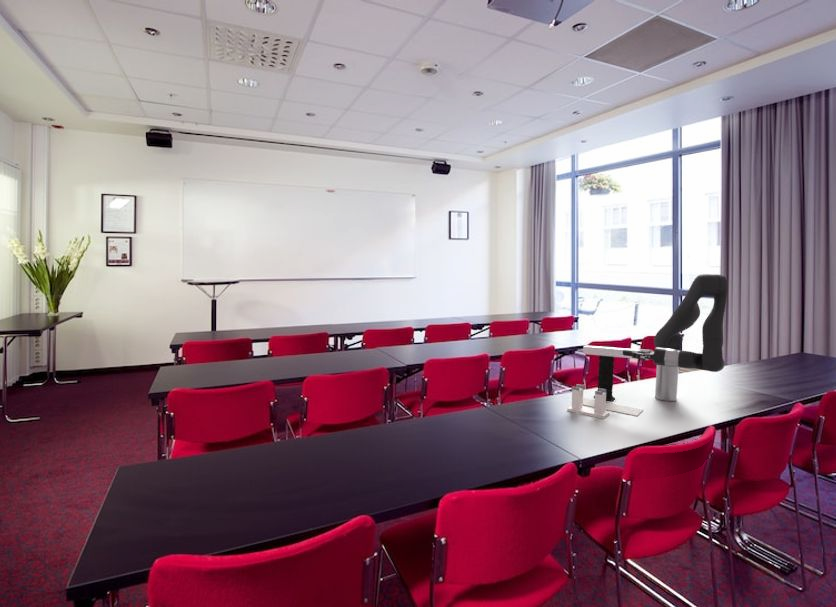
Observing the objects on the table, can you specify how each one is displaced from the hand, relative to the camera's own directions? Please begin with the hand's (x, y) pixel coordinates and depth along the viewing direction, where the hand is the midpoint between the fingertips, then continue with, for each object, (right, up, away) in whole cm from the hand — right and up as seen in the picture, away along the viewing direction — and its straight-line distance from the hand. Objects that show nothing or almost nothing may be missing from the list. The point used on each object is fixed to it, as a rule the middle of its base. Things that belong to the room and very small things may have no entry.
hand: (624, 351), depth 202 cm
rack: (-17, -27, -1) cm, 32 cm away
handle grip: (-1, -25, +19) cm, 31 cm away
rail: (-4, -2, +4) cm, 6 cm away
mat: (-5, -26, +7) cm, 27 cm away
